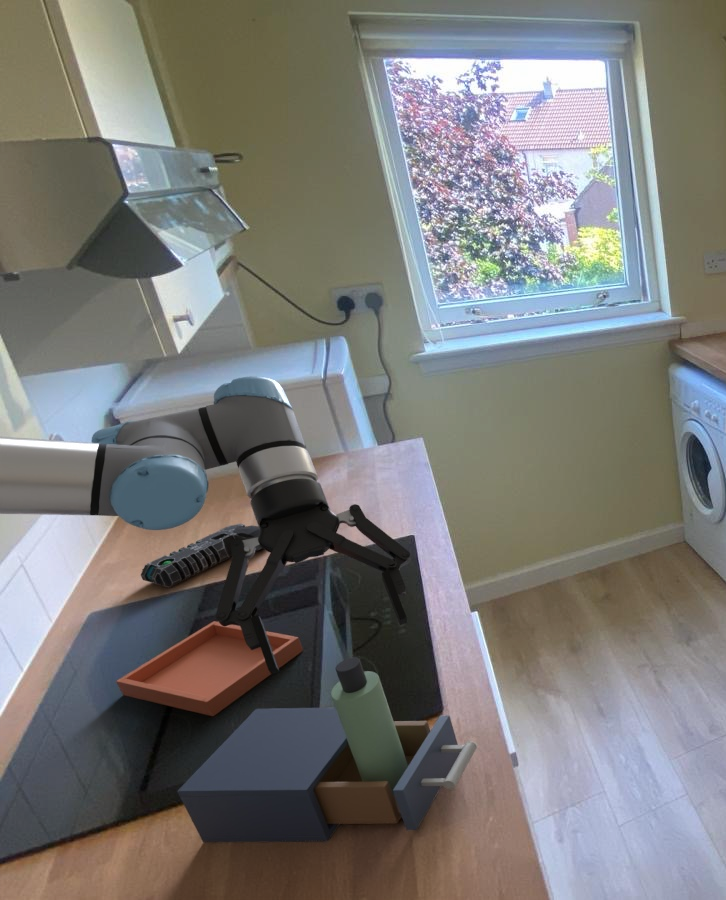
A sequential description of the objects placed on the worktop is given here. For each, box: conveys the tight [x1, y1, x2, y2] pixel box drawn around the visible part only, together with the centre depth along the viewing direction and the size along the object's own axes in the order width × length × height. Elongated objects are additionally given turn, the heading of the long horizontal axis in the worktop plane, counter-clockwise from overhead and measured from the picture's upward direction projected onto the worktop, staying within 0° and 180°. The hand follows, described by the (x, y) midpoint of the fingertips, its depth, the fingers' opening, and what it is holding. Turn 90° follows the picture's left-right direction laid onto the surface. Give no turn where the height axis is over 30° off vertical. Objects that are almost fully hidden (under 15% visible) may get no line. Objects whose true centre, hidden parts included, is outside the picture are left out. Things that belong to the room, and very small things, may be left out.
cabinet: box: [176, 707, 348, 843], centre depth 88 cm, size 15×13×8 cm
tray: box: [115, 620, 304, 717], centre depth 111 cm, size 18×15×3 cm
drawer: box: [313, 714, 478, 831], centre depth 88 cm, size 18×11×6 cm, turn 89°
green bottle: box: [330, 656, 408, 795], centre depth 85 cm, size 5×5×18 cm
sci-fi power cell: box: [140, 523, 263, 588], centre depth 139 cm, size 4×19×10 cm
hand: (341, 645), depth 87 cm, fingers open, 13 cm apart
